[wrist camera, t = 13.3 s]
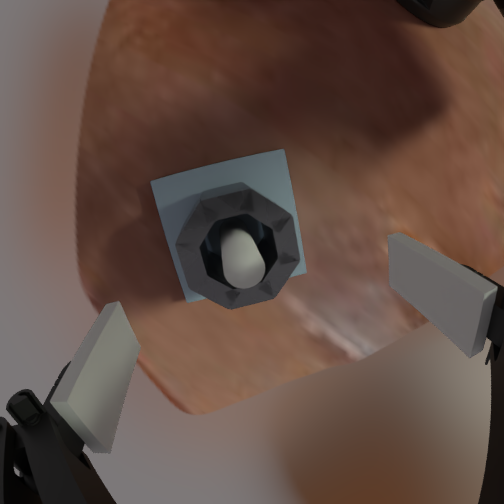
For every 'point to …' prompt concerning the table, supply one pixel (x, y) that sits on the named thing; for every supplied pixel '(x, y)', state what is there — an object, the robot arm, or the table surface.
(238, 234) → the shaft block
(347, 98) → the table surface
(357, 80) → the table surface
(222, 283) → the hub
